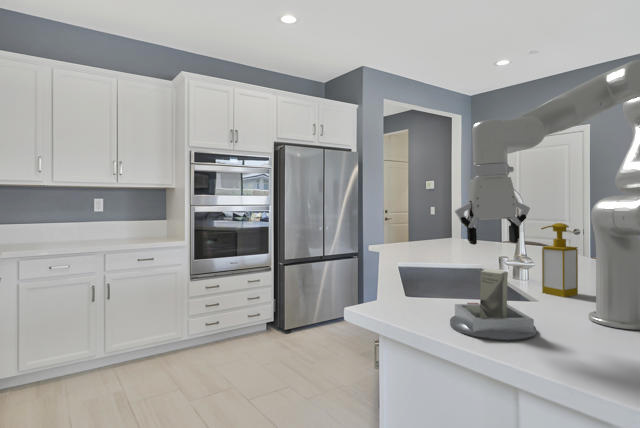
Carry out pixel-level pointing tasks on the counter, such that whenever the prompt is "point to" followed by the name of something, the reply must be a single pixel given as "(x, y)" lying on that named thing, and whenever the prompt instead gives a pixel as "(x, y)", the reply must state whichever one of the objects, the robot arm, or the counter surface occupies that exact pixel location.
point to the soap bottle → (559, 266)
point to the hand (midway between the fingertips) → (493, 243)
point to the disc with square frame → (492, 324)
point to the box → (493, 294)
